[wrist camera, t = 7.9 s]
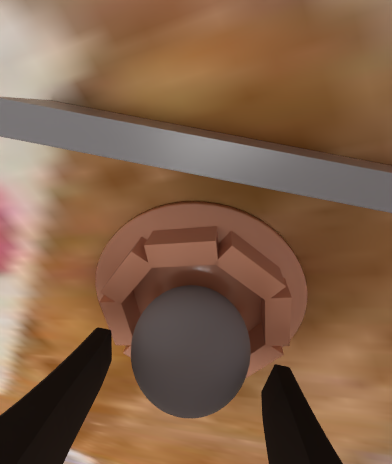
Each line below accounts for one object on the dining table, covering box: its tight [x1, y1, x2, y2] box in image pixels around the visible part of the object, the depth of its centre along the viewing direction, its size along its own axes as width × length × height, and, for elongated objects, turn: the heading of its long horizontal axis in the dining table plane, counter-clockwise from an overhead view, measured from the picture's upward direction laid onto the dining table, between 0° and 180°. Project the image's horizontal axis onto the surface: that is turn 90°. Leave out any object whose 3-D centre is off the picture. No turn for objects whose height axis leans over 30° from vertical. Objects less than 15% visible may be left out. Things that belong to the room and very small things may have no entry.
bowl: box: [96, 201, 307, 378], centre depth 13 cm, size 12×12×2 cm
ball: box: [131, 285, 251, 418], centre depth 11 cm, size 6×6×6 cm
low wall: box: [0, 97, 392, 213], centre depth 9 cm, size 16×1×3 cm, turn 80°
